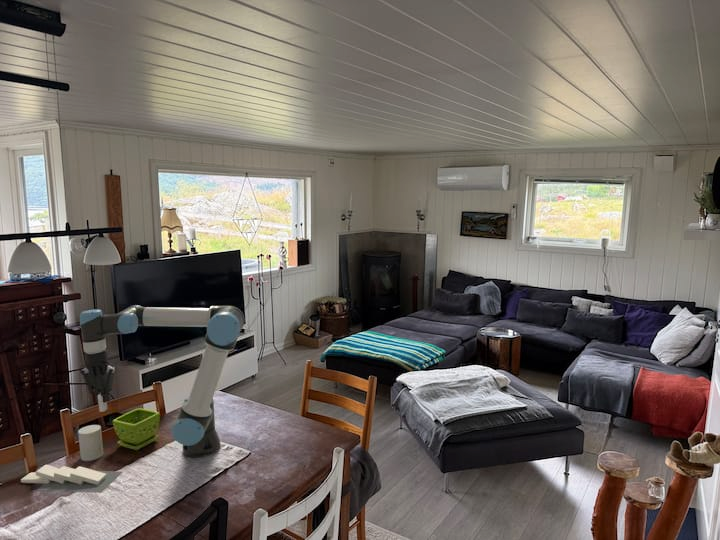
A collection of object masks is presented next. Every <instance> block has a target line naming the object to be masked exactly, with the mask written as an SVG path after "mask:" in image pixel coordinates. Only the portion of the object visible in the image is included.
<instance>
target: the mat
mask: <svg viewBox="0 0 720 540" xmlns="http://www.w3.org/2000/svg"><path fill="white" fill-rule="evenodd" d="M97 471H98V472H102V473H105V474H106V478H105V479H104V480H103V481H102V482H101V483H99V484H98V485H96V484H92V483H89V482H84V483H83V484H78V483H74V482H70V481H66V482H65V483H64V484H62V483H59V482H55V481H51V482H50V483H42V485H41V486H40V487H38V488H37V489H36V491H42V492H44V491H45V492H70V493H96V494H97V493H101V494H102V492H104V491H105V490H106V489H107V488H108V487H109V486H110V485H111V484H112V483H114V481H115V480H116V479H118V478H119V477H120V475H122V474H123V473H124V471H120V470H119V471H115V470H109V471H108V470H97Z"/></svg>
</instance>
